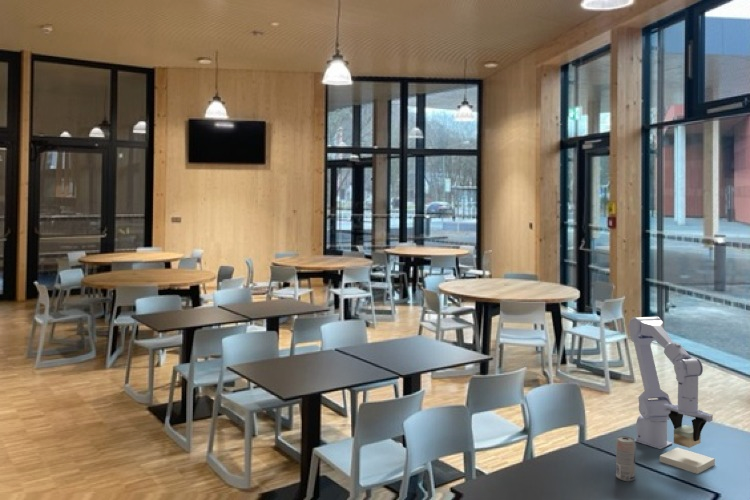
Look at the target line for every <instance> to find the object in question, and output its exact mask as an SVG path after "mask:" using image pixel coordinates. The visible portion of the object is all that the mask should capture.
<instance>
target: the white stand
mask: <svg viewBox="0 0 750 500" xmlns="http://www.w3.org/2000/svg"><path fill="white" fill-rule="evenodd" d="M659 462H660V463H663V464H666V465H669V466H672V467H674V468H678V469H682V470H685V471H687V472H689V473H694V474H697V475H698V474H700V473H702V472H704V471H706V470H708V469H710V468H712V467H714V466H715V465H716V463H715V462H716V460H715V458H713V457H710V456H707V455H704V454H701V453H698V452H695V451H694V452H693V451H691V450H687V449H684V448H681V447H675V448H673V449H671V450H668V451H667V452H664V453H662V454H660V455H659Z"/></svg>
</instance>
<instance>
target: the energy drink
mask: <svg viewBox="0 0 750 500" xmlns="http://www.w3.org/2000/svg"><path fill="white" fill-rule="evenodd" d="M615 441H616V442H615V453H616V454H615V477H616V478H617V479H618V480H620V481H623V482H633V481H634V480H635V479H636V441H635V438H633V437H630V436H625V435H621V436H617V437H616V440H615Z"/></svg>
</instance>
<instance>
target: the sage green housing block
mask: <svg viewBox="0 0 750 500" xmlns="http://www.w3.org/2000/svg"><path fill="white" fill-rule="evenodd" d="M701 434H702V433H701ZM701 434H700V437H699V440H698V441H694V440H693V425H692V426H691V425H688V424H684V425H683V424H682V426H681V427H679V428H676V429H673V444H675V445H678V446H682V447H685V448H687V449H690V448H692V447H694V446H697V445H699V444H701V443H702V442H701V437H702V436H701Z"/></svg>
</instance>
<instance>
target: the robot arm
mask: <svg viewBox="0 0 750 500" xmlns="http://www.w3.org/2000/svg"><path fill="white" fill-rule="evenodd" d="M627 328H628V330H629V331H628V332H629V336H630V339H631V342H633V344H634V348H635V354H636V359H637V363H638V367H639V368H638V369H639V371H640V376H641V381H642V385H643V389H644V390H643V392H642V393H641V394H640V395H639V396H638V397H637V399H638V411H639V416H638V417H637V418H636V423H635V425H636V427H635V437H636V438H635V439H634V441H635V443H639V444H643V445H645V446H650V447H652V448H655V449H659V450H662V449H665V448H666V447H668V446H670V445H673V442H672V441H669V440H668V420H670V421H671V424H672V426H673V428H674V429H676V428H679V427H681V426H683V417H684V416H687V417H690V418H691V417H692V418H693V419H691V424H692V427H693V440H694V441H698V440H699V437H700V434H702V431H703V428H704V427H705V425H706V423H707V422H708V423H711V422H712V421H713V419H714V417H713V414H711V413H708V412H705V411H703V410H700V409H698V408H699V377H700V376H702V374H703V372H704V366H703V364H702V361H700V359H699V358H698V357H694V356H691V355H690V354H689V353H688V352H687V351H686V349H685V348H684V346H682V345H681V343H679V342H675V341H674V340H672V338H671V337H670V335H669V334H668V333H667V331H666V330H665V327H664V321H663V320H662V318H660V316H657V315H655V316H643V317H640V316H639V317H636V316H633V317H631V318H630V319H629V322H628V327H627ZM654 341H657V343H658V344H659V345H660V346H661V347H662V348H663V354H664V355H665V357H666V358H667V359H668V360H669V361H670V362H671V364H672V365H673V370H674V371H673V372H674V374H675V378H676V382H677V405H676V404H673V403H672V401H671V400H670V396H669V393H667V392H665V391H664V390H663V389H661V385H660V381H659V377H658V372H657V367H656V363H655V360H654V355H653V351H652V346H651V345H652V342H654ZM674 429H673V430H674Z"/></svg>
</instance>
